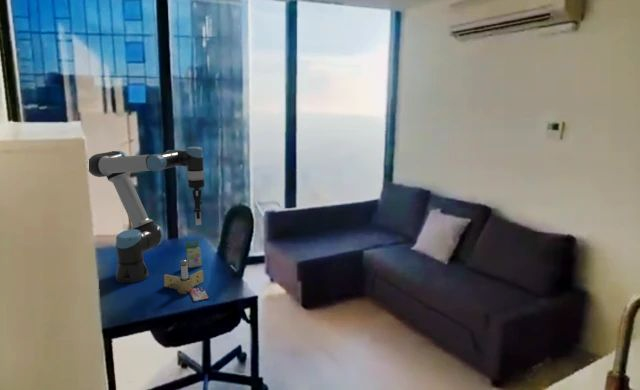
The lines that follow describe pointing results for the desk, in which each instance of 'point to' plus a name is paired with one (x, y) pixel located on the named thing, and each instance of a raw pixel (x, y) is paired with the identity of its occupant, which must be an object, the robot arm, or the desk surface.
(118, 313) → the desk surface
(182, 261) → the pin
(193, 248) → the ink box
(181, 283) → the hinge
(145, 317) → the desk surface
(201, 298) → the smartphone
